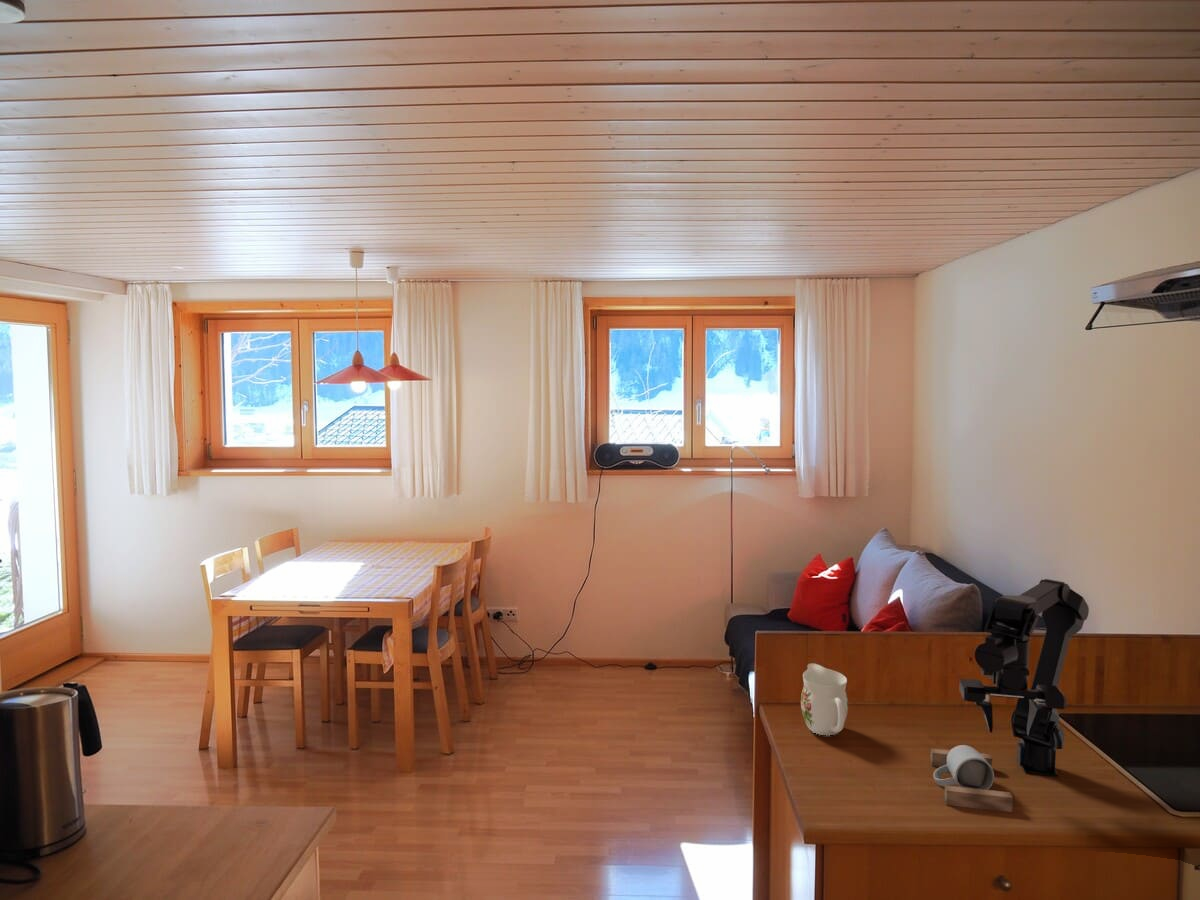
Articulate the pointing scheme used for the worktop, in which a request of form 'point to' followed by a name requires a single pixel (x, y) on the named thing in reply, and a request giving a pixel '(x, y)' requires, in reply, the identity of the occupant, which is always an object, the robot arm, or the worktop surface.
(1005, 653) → the robot arm
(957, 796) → the mug dock
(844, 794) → the worktop surface
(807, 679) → the pitcher
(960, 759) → the ceramic mug
